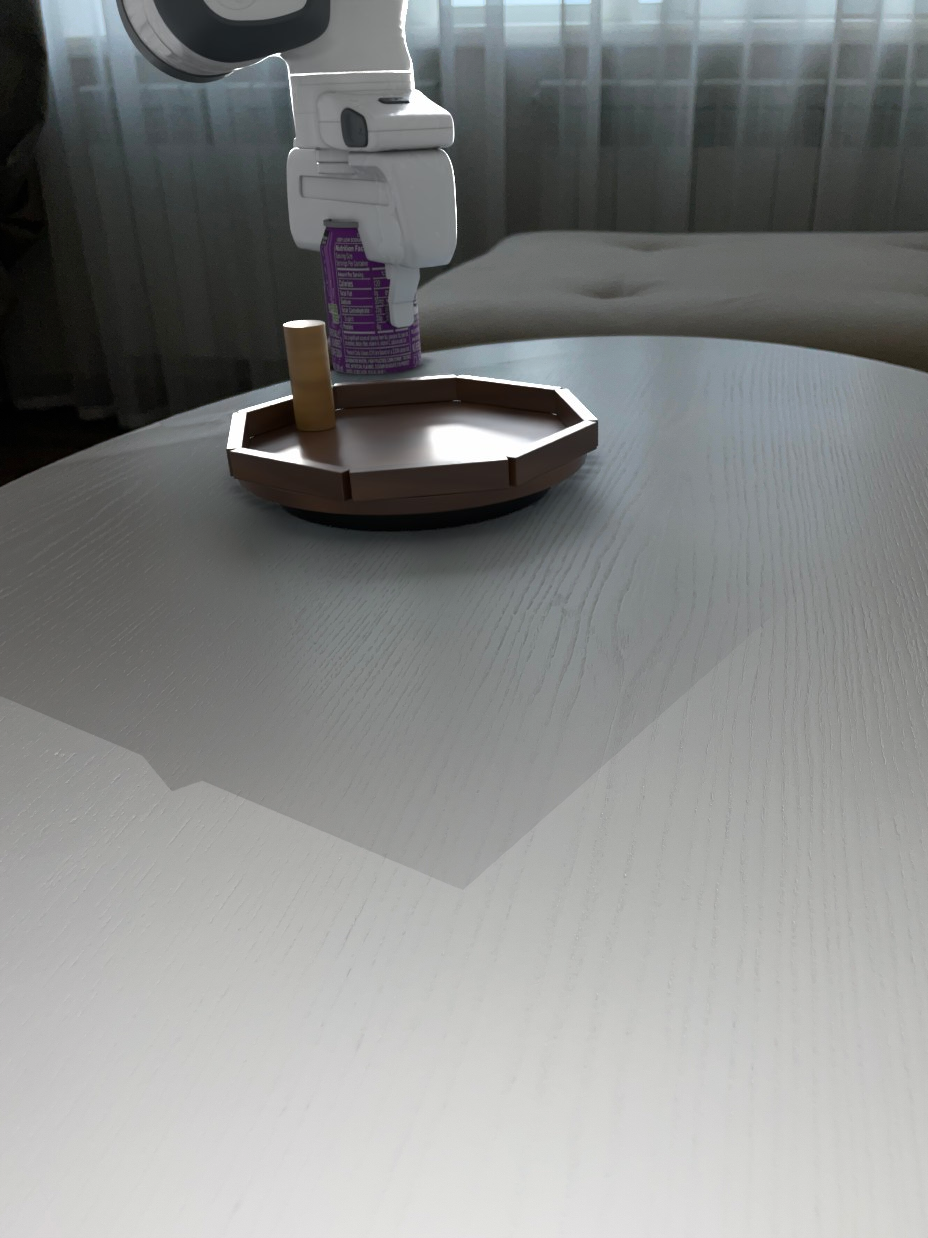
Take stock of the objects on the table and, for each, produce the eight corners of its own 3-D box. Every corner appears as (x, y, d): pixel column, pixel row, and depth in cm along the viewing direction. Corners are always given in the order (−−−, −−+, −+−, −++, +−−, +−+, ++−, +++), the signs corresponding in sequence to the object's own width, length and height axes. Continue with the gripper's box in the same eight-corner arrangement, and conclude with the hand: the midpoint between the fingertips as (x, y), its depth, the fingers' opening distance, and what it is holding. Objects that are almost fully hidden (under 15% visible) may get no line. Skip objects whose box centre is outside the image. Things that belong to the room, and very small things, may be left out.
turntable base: (232, 481, 66) (228, 456, 65) (457, 433, 74) (455, 411, 73) (359, 555, 54) (356, 526, 54) (609, 489, 62) (609, 463, 62)
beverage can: (388, 366, 93) (374, 212, 88) (440, 378, 89) (429, 216, 83) (317, 381, 89) (298, 220, 83) (368, 394, 84) (351, 225, 79)
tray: (649, 438, 66) (653, 317, 62) (443, 541, 51) (433, 391, 48) (392, 401, 76) (383, 295, 72) (160, 478, 61) (135, 351, 58)
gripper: (256, 123, 86) (281, 308, 92) (385, 121, 71) (403, 342, 78) (329, 120, 89) (348, 300, 96) (467, 117, 74) (478, 330, 81)
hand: (374, 319), depth 87 cm, fingers closed on beverage can, 7 cm apart
